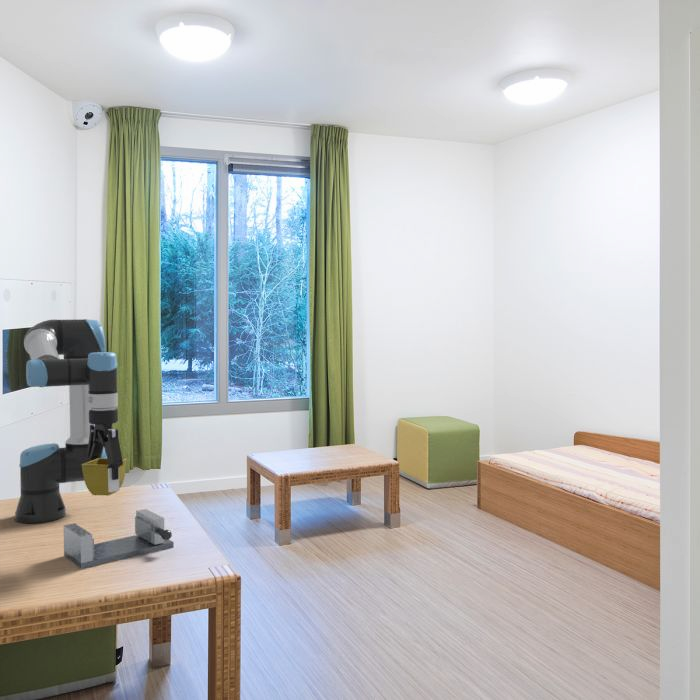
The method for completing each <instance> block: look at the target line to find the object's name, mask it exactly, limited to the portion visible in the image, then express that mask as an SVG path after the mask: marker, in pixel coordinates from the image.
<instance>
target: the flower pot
mask: <svg viewBox="0 0 700 700" xmlns="http://www.w3.org/2000/svg"><path fill="white" fill-rule="evenodd" d="M122 461H123V465H122V466H120V467H119V490H120V489H121V487H122V485H123V483H124V481H125V477H126V465H127V458H122ZM108 465H109V463H108V459H107V458H98V459H95V460H92V461H90V462H87V463H84V464H82V471H83V476H84V481H83V482H84V484H85V486H86V488H87V490H88V491H89V492H90V494H91V495H92V496H107V497H108V496H111V495H113V494H115V493H117V492H119V491H115V492H108V468H107V467H108Z"/></svg>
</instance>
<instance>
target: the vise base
mask: <svg viewBox="0 0 700 700" xmlns="http://www.w3.org/2000/svg"><path fill="white" fill-rule="evenodd" d="M171 548H174V541H172V540H171V539H169V540H165V542H164V543H160V544H155V545H154V544H152V543H151V542H149V541H147V540H145V539H143V538H142V537H140V536H138V535H136V534H135V535H131V536H130V535H129V536H125V537H121V538H117V539H116V538H115V539H112V540H107V541H103V542H98V543H95V539H94V538H93V534H92V533H91V532H89V531H87V530H86V529H84V528H83V527H81V526H80V525H78V524H76V522H75V523H74V522H73V523H70V524H69V523H68V524H65V525H63V556H64V557H65V558H66V559H68V561H70V562H71V563H72V564H74V565H75V566H76V567H78V568H79V569H81V570H83V569H87V568H92V567H96V566H99V565H104V564H108V563H111V562H112V563H113V562H115V561H116V562H118V561H121V560H125V559H129V558H133V557H138V556H143V555H146V554H150V553H155V552H159V551H163V550H167V549H171Z"/></svg>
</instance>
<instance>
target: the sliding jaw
mask: <svg viewBox="0 0 700 700" xmlns="http://www.w3.org/2000/svg"><path fill="white" fill-rule="evenodd" d="M135 514H136V515H135V516H134V534H135V535H138V536H140V537H142V538H143V539H145V540H147V541H149V542H151V543H152V544H154V545H155V544H160V543H164V542H165V540H171V538H172V531H171V530H170V529H165V517H163V516H161V515H160V514H157V513H155V512H154V511H150V510H149V509H146V508H145V509H140V510H135Z"/></svg>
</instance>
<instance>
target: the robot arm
mask: <svg viewBox="0 0 700 700" xmlns="http://www.w3.org/2000/svg"><path fill="white" fill-rule="evenodd" d="M23 347H24V350H25V352H26V353H27V354H28V355H29V358H30V359H29V360H27V361H26V367H25V371H26V373H25V376H26V377H25V378H26V384H27V386H28V387H30V388H45V387H46V388H47V387H65V386H68V389H69V390H68V392H69V394H68V395H69V398H68V399H69V437H68V438H67V439H66V440H65V447H60V446H59V444H58V443H44V444H38V445H35V446H30V447H28V448H25V449H24V450H22V451H21V453H20V454H19V455H20V456H19V465H18V466H19V469H20V470H19V471H20V472H19V473H20V478H19V479H20V484H19V485H20V497H19V499H18V502H17V506H16V509H15V512H14V520H15V521H16V522H18V523H20V524H21V523H23V524H39V523H46V522H52V521H56V520H59V519H61V518H64V517H65V516H66V514H67V512H66V510H67V509H66V505H65V503H64V500H63V497H62V495H61V491H60V484H65V483H67V484H68V483H77V482H85V481H84V476H83V471H82V464H84V463H87V462H90V461H92V460H95V459H98V458H107V459H108V463H109V465H108V467H107V468H108V492H115V491H118V492H120V489H119V467H120V466H122V465H123V461H122V459H123V456H122V455H123V454H122V452H121V451H122V450H121V445H120V439H119V430H118V428H116V429H115V428H114V429H113V425H114V424H116V423H118V421H119V410H118V409H117V408H118V406H119V392H118V365H119V364H118V359H117V354H116V353H115V352H112V351H107V349H106V338H105V333H104V328H103V326H102V324H101V322H100V321H98V320H97V319H96V320H95V319H88V318H87V319H86V318H84V319H83V318H82V319H47V320H45V321H44V320H43V321H41V322H39V323H37V324H35V325H33V326H32V327H30V328H29V329H28V330H27V332H26V334H25V335H24V337H23ZM106 351H107V352H106ZM59 355H60V356H63V358H61V357H60V356H59ZM115 493H116V492H115Z"/></svg>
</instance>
